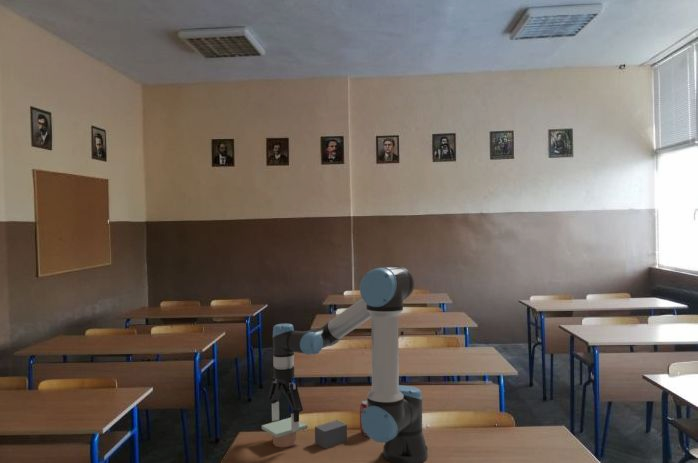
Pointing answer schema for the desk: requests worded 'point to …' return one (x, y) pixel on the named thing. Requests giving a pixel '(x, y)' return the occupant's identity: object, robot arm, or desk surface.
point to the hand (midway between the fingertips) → (285, 425)
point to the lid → (282, 427)
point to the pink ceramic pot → (285, 440)
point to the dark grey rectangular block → (330, 434)
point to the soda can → (362, 408)
